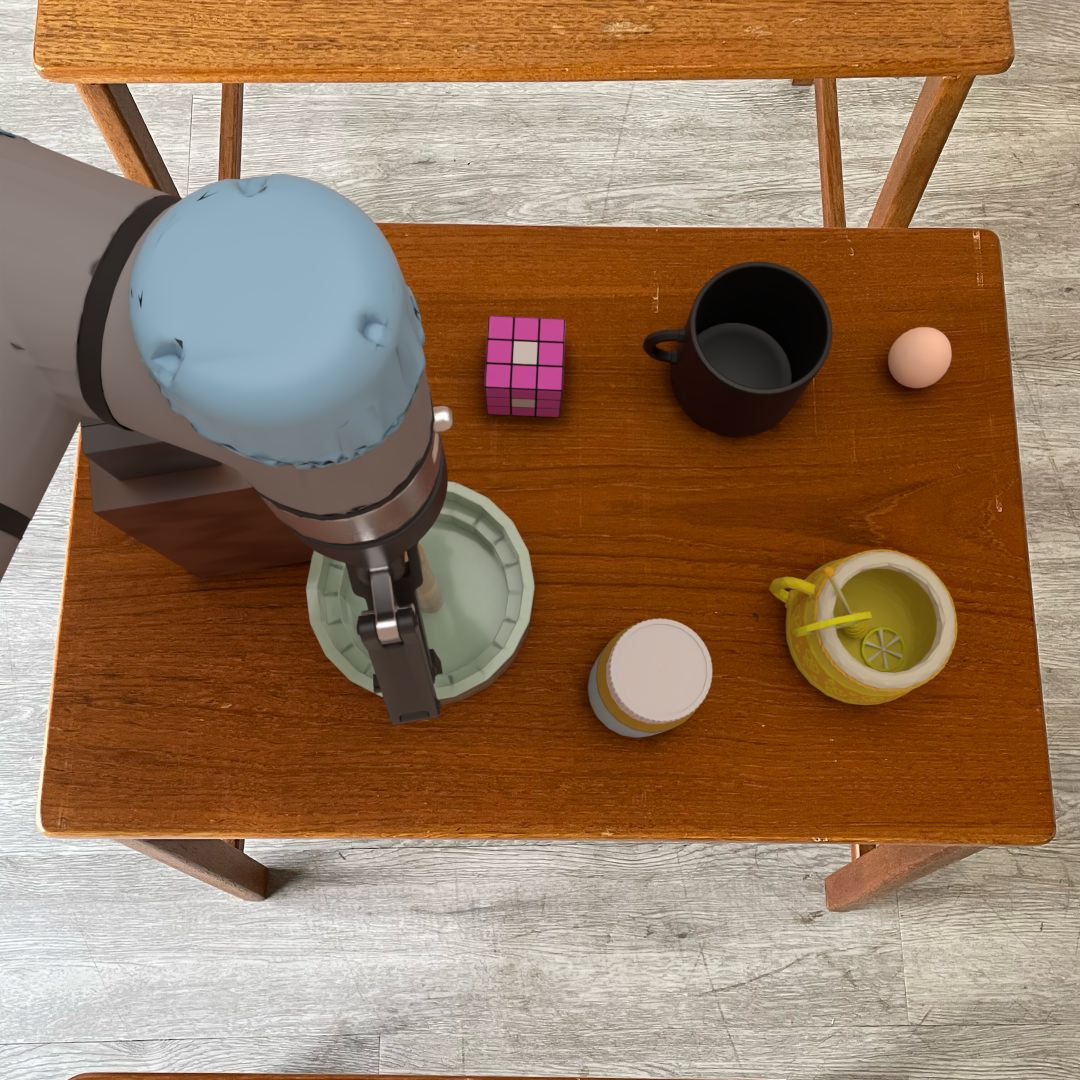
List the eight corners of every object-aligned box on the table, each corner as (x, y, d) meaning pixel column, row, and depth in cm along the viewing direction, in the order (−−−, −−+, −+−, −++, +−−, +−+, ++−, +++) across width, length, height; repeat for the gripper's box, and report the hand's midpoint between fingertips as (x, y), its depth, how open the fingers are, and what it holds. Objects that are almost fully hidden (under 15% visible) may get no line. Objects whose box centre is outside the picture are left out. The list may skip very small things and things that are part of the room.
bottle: (613, 625, 77) (634, 591, 63) (697, 669, 77) (739, 644, 62) (570, 709, 76) (582, 694, 61) (656, 755, 75) (688, 750, 61)
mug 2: (945, 599, 78) (1020, 568, 66) (891, 732, 76) (959, 724, 64) (789, 526, 79) (836, 483, 67) (732, 655, 77) (769, 633, 65)
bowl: (337, 723, 75) (321, 719, 69) (311, 517, 79) (294, 497, 73) (548, 687, 76) (551, 680, 70) (514, 485, 80) (513, 462, 74)
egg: (942, 390, 82) (973, 362, 76) (889, 403, 82) (916, 376, 76) (924, 339, 83) (952, 308, 77) (871, 352, 82) (896, 321, 77)
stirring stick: (418, 615, 76) (392, 574, 61) (414, 588, 77) (387, 541, 61) (445, 610, 76) (426, 568, 61) (441, 584, 77) (421, 535, 61)
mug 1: (640, 310, 83) (655, 250, 73) (799, 324, 83) (835, 266, 73) (631, 429, 81) (646, 384, 71) (795, 444, 81) (831, 400, 71)
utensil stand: (200, 578, 77) (52, 488, 53) (188, 464, 79) (41, 327, 55) (320, 559, 78) (229, 461, 54) (305, 446, 80) (211, 302, 56)
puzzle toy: (562, 349, 82) (565, 318, 76) (559, 417, 81) (562, 391, 75) (490, 345, 82) (488, 314, 76) (486, 414, 81) (484, 387, 75)
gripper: (490, 749, 40) (497, 756, 61) (399, 171, 45) (434, 360, 66) (294, 783, 39) (368, 778, 60) (225, 195, 45) (315, 377, 65)
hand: (403, 560), depth 63 cm, fingers open, 13 cm apart
